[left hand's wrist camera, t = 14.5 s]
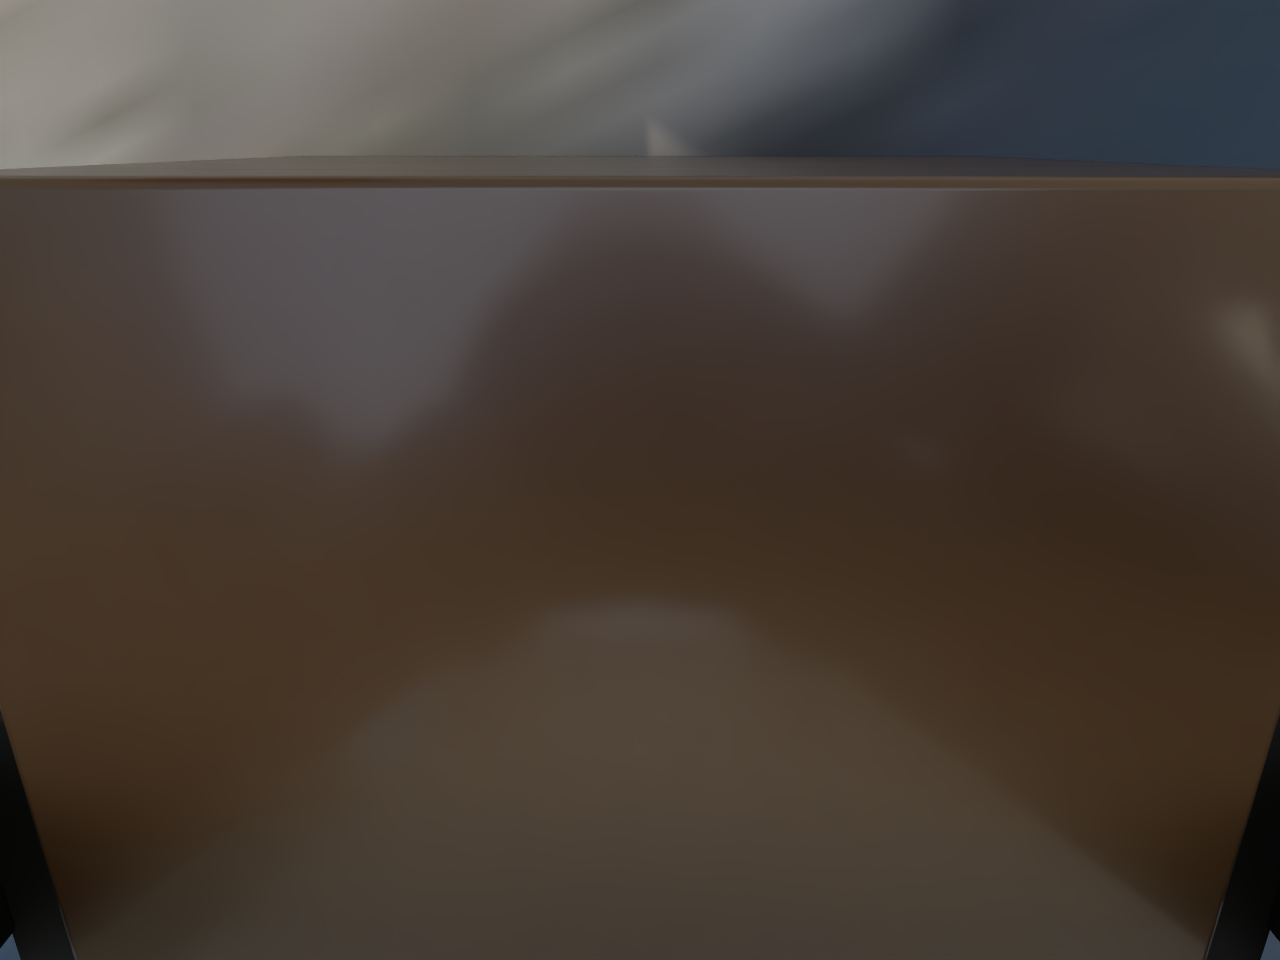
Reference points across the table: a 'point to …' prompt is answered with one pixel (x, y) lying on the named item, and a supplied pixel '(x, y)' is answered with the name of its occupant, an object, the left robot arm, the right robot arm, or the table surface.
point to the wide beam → (640, 553)
